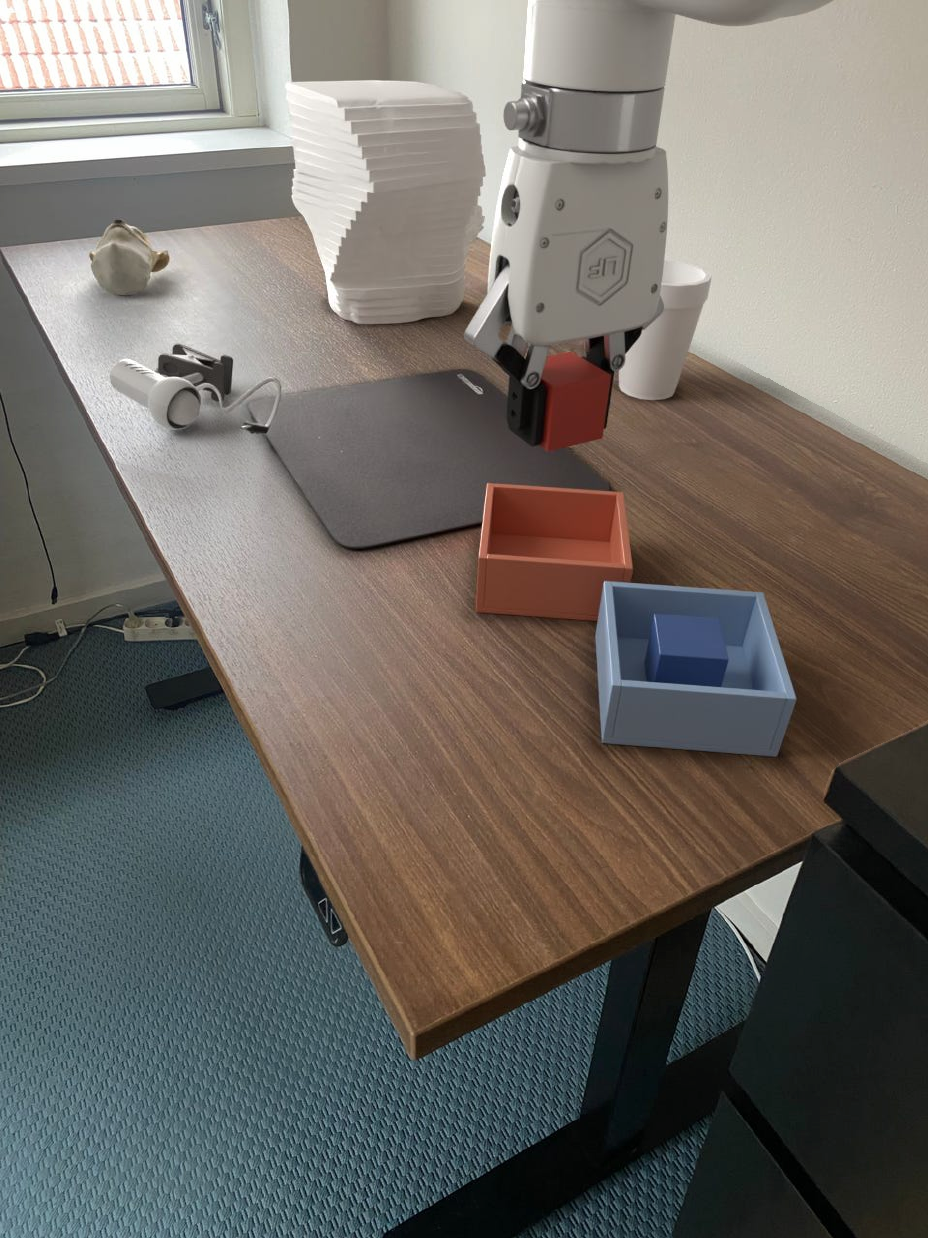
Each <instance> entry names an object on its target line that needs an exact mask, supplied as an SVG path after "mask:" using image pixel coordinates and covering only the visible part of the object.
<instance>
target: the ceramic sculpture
mask: <svg viewBox="0 0 928 1238" xmlns="http://www.w3.org/2000/svg"><path fill="white" fill-rule="evenodd" d="M149 241H150V240H149V239H148V238H147V236H146V234H145V233H144V232H143V231H142V230H141V229H140V228H138V227H136V226H133V225H132V226H131V225H129V224H127V223H126V222H125V220H123V219H120V218H117V219H115V220H113V221H112V223H111V224H110V225H108V227H107V228H106V229H105V230H104V231H103V233H102V235H101V236H100V240H99V241H98V242H97V244H96V247H95V252H93V251H90V252H89V254H88V257H89V259H90V262H91V263H90V269H91V271H92V272H91V273H92V274H93V276H94V278H95V280H96V282H97V283H98V285H100V286H101V288H102V289H103V290H105V291H106V292H108V293H110V294H115V295H119V296H130V295H134V294H139V293H141V292H143V291H144V290H145V289H146V288H147V286H148V283H149V281H150V278H151V273H157V272H160V271H162V270H164V269H166V267H167V266H168V265H169V263H170V257H171V256H170V255H169V251H168V250H163V251H156V250H153V247H152V244H151V243H150V242H149Z"/></svg>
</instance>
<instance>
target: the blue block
mask: <svg viewBox="0 0 928 1238" xmlns="http://www.w3.org/2000/svg"><path fill="white" fill-rule="evenodd" d="M728 661H729V658H728V654H727V650H726V646H725V641H724V637H723V633H722V629H721V625H720V621H719V619H718V618H706V617H692V616H679V615H665V614H654V617H653V622H652V627H651V632H650V637H649V642H648V647H647V652H646V656H645V661H644V665H645V673H646V681H647V682H657V683H670V684H683V685H696V686H709V687H722V683H723V679H724V676H725V672H726V668H727V665H728Z"/></svg>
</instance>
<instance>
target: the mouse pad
mask: <svg viewBox="0 0 928 1238" xmlns="http://www.w3.org/2000/svg"><path fill="white" fill-rule="evenodd" d="M276 396H277V395H274V396H273V395H272V396H267V397H261V398H259V399H258V398H257V399H255V400H253V401H251V402H250V403H249V404H248V411H249V413H250V415H251V417H252V418H253V419H254V421H255V423H260V424H263V425H266V424H267V422H268V420H269V418H270V416H271V413H272V410H273V408H274V404H275V401H276ZM507 401H508V395H506V394H505V393H503V392H502V391H501V390H500V389H499V388H497V386H495V385H494V384H493V383H492V382H491V381H489V380H488V379H487V378H485V377H484V376H483V375H482V374H480V373H479V372H478V371H475V370H473V369H468V368H457V369H456V368H455V369H448V370H447V369H446V370H442V371H441V370H440V371H435V372H428V373H427V372H426V373H419V374H414V375H406V376H399V377H393V378H387V379H380V380H372V381H366V382H360V383H353V384H347V385H340V386H339V385H338V386H333V387H327V388H320V389H319V388H318V389H314V390H307V391H300V392H292V393H286V394H281V396H280V401H279V405H278V409H277V412H276V415H275V417H274V419H273V422H272V424H271V425H270V427H269V430H268V432H267V433H266V434H265V433H263V435H264V436H265V438H266V439H267V441H268V442H269V444H270V446H271V447H272V449H273V450H274V452H275V453H276V455H277V456H278V458H279V459H280V461H281V463H282V464H283V466H284V467H285V469H286V470H287V472H288V473H289V475H290V476H291V478H292V479H293V481H294V483H295V484H296V486H297V487H298V489H299V490H300V492H301V493H302V495H303V496H304V498H305V500H306V501H307V503H309V504H308V505H310V507H311V508H312V510H313V511H314V513H315V514H316V516H317V517H318V519H319V520H320V522H321V523H322V525H323V527H324V528H325V529H326V531H327V532H328V534H329V536H330V537H331V539H333V541H334V542H335V543H336V544H338V545H339V546H341V547H343V548H345V549H351V550H361V549H370V548H375V547H380V546H384V545H385V546H386V545H389V544H394V543H398V542H402V541H407V540H411V539H417V538H421V537H425V536H430V535H435V534H440V533H445V532H449V531H454V530H457V529H463V528H468V527H471V526H477V525H480V524H481V525H482V524H483V515H484V506H485V497H486V488H487V483H494V484H510V485H524V486H539V487H553V488H568V489H582V490H597V491H611V485H610V484H609V483H608V481H607V480H606V479H605V478H604V477H602V476H601V475H600V474H599V473H597V472H596V471H595V470H594V469H593V468H592V467H591V466H590V465H588V464H587V463H586V462H585V461H583V460H582V459H581V458H580V457H579V456H578V455H577V454H575V453H574V452H573V451H572V450H571V449H569V447H565V448H561V449H557V450H553V451H549V452H547V451H546V450H545V449H543V448H542V447H541V446H539V445H537V446H530V445H529V444H528V443H526V442H525V441H524V440H522V439H521V438H520V437H518V436H517V435H516V434H514V433H513V432H512V431H510V429H509V427H508V423H507Z"/></svg>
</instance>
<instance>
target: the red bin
mask: <svg viewBox="0 0 928 1238" xmlns="http://www.w3.org/2000/svg"><path fill="white" fill-rule="evenodd" d="M625 502H626V501H625V493H624V492H623V491H611V490H610V491H597V490H582V489H568V488H553V487H539V486H524V485H510V484H494V483H487V488H486V497H485V506H484V515H483V523H482V524H481V533H480V541H479V542H480V543H479V552H478V561H477V563H478V564H477V578H476V579H477V582H476V599H475V612H476V613H482V614H484V613H485V614H495V615H496V614H497V615H507V616H509V615H510V616H521V617H522V616H523V617H535V618H536V617H537V618H550V619H563V620H578V621H592V622H598V616H599V609H600V603H601V597H602V590H603V584H604V581H610V582H625V583H632V576H633V572H634V571H633V570H634V566H633V557H632V549H631V542H630V533H629V527H628V519H627V518H628V517H627V510H626V509H627V508H626V503H625Z"/></svg>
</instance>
